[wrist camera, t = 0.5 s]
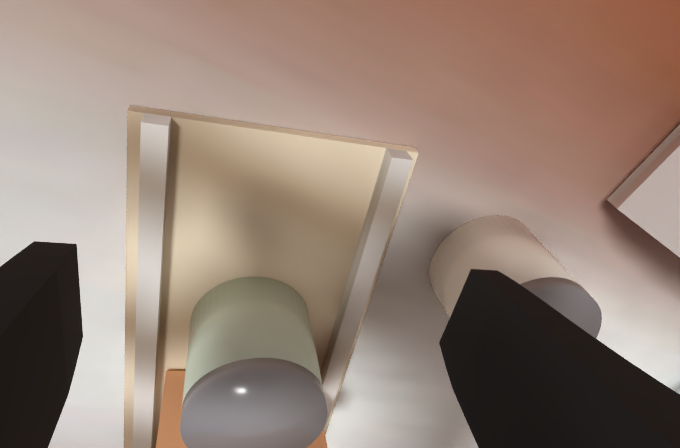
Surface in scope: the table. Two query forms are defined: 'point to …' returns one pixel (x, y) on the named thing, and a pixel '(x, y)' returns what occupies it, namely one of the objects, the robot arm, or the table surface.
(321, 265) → the lane
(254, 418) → the green jar
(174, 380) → the pusher
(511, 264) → the cream jar
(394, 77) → the table surface
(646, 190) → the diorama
